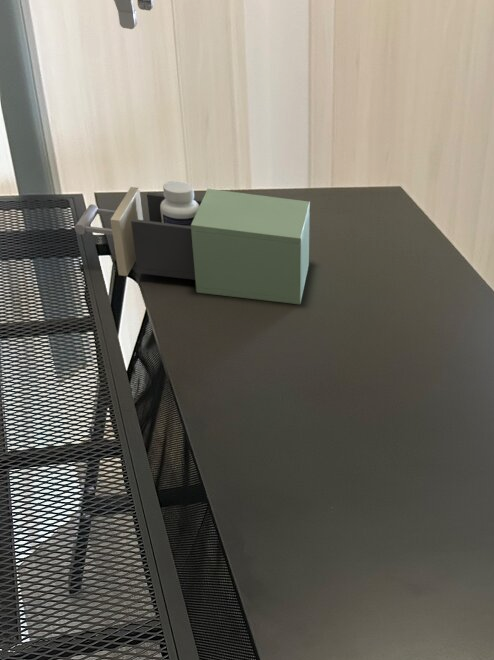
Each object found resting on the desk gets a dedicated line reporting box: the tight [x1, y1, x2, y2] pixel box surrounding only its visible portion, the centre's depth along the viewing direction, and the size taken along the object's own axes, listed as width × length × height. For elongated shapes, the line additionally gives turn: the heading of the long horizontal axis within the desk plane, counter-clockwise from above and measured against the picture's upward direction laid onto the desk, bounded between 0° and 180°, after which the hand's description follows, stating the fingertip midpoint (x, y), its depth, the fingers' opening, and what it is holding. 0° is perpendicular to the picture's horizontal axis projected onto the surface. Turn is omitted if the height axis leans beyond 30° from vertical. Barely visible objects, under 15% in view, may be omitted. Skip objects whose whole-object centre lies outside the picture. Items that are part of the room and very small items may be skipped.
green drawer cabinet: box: [191, 188, 311, 305], centre depth 122 cm, size 15×13×10 cm
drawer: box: [74, 186, 203, 281], centre depth 121 cm, size 19×11×8 cm, turn 91°
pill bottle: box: [160, 180, 199, 226], centre depth 120 cm, size 5×5×10 cm
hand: (137, 17), depth 109 cm, fingers open, 8 cm apart
